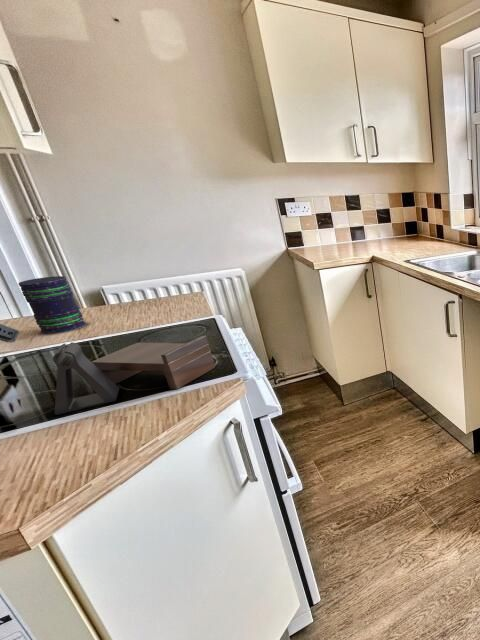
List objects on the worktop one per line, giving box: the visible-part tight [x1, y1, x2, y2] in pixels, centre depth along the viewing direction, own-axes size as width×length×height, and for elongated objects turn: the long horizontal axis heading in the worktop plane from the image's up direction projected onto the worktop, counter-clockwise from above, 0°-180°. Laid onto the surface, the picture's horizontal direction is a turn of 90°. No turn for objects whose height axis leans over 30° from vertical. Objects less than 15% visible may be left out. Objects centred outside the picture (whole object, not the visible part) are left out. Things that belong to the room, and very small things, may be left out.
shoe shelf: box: [91, 335, 216, 390], centre depth 94 cm, size 18×11×8 cm, turn 85°
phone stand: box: [52, 341, 120, 416], centre depth 83 cm, size 9×6×12 cm, turn 126°
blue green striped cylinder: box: [17, 275, 86, 335], centre depth 125 cm, size 10×10×15 cm
